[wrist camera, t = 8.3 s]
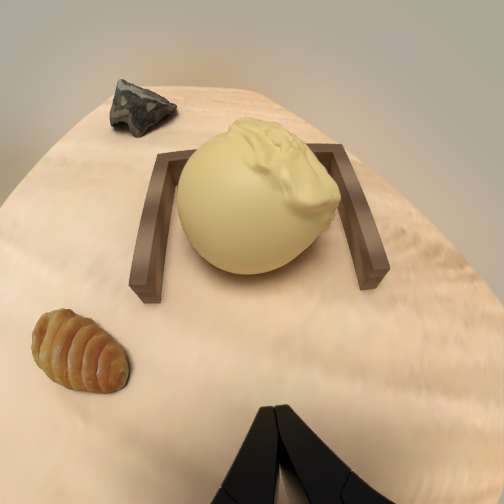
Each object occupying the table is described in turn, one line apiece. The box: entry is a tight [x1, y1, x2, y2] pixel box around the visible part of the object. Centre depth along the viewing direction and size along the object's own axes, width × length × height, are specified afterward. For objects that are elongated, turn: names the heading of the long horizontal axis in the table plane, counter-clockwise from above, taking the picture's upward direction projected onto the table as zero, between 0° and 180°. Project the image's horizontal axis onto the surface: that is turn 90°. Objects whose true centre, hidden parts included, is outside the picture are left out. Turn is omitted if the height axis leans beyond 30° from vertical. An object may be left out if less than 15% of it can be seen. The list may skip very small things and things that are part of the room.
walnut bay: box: [129, 144, 390, 303], centre depth 26 cm, size 16×20×4 cm
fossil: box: [110, 79, 177, 137], centre depth 37 cm, size 11×9×10 cm
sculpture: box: [177, 117, 341, 274], centre depth 22 cm, size 11×12×11 cm
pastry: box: [31, 309, 129, 393], centre depth 19 cm, size 9×7×4 cm
